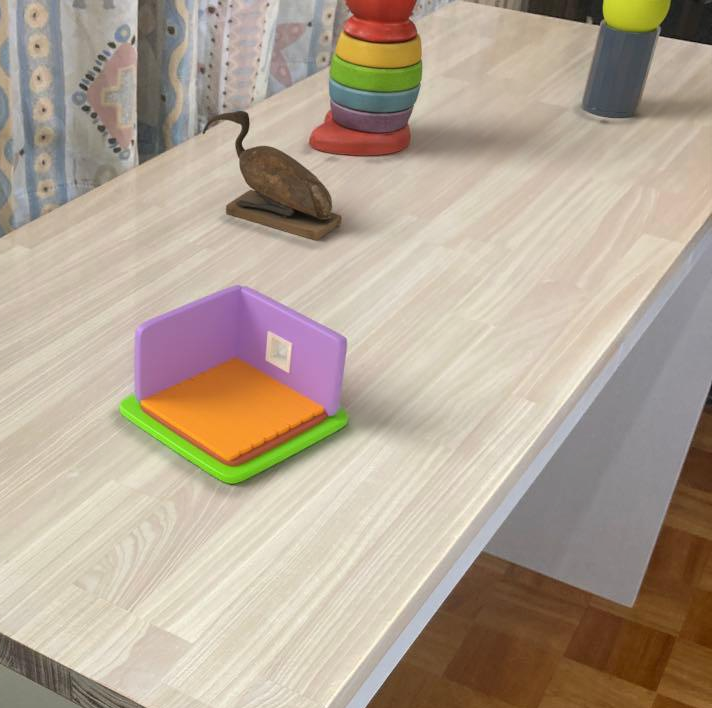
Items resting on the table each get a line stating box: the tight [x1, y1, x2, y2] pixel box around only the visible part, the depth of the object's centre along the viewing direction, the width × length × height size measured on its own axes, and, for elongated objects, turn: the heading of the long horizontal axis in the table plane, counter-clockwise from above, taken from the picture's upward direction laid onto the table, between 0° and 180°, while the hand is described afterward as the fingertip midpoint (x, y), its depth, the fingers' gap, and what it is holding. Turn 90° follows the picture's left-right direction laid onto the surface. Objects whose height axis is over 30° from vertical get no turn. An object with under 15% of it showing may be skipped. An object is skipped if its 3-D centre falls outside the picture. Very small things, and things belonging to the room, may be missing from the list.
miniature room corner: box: [119, 284, 349, 485], centre depth 77 cm, size 12×12×7 cm
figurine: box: [202, 110, 343, 241], centre depth 103 cm, size 14×4×9 cm, turn 56°
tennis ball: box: [602, 0, 672, 32], centre depth 122 cm, size 7×7×7 cm
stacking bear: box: [308, 0, 423, 156], centre depth 115 cm, size 11×10×18 cm
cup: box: [580, 18, 662, 119], centre depth 127 cm, size 6×6×9 cm
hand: (631, 20), depth 124 cm, fingers open, 12 cm apart
